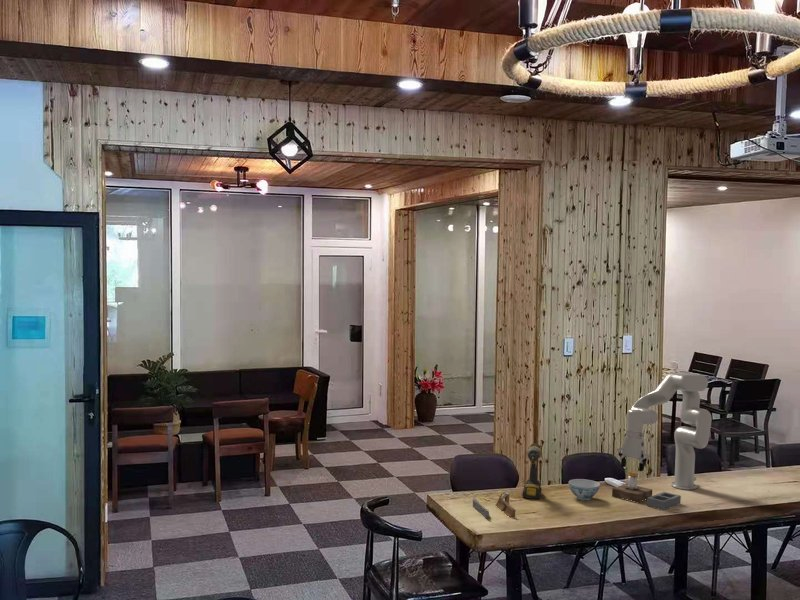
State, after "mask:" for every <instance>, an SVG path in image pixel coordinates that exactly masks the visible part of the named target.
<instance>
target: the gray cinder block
mask: <svg viewBox="0 0 800 600" xmlns="http://www.w3.org/2000/svg"><path fill="white" fill-rule="evenodd" d="M681 500H682V497H681V495H679V494H675V493H671V492H668V491H667V492H666V491H662V492H659V493H657V494H654V495H653V494H652V496H651V497H648V498H647V501H646V507H649V506H651V507H650V508H653V507H655V508H654V509H657V508H659V509H658V510H661V509H662V510H661V511H666V510H668V508H669V509H671V508H674V507H676V506H678V504H679V505H681ZM673 506H674V507H673ZM670 507H671V508H670Z"/></svg>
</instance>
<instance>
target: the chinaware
mask: <svg viewBox="0 0 800 600" xmlns="http://www.w3.org/2000/svg"><path fill="white" fill-rule="evenodd" d="M568 486H569V489H570V491H571V493H572V494H573V495H574V496H575V497H576V499H577V500H579V499H580V501H584V500H587V501H590V500H591V499H592V498H594V496H596V495H597V493H598V492H599V489H600V487H601V484H600V483H599V482H598V481H595V480H591V479H584V478H574V479H569V481H568Z"/></svg>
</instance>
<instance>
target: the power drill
mask: <svg viewBox="0 0 800 600" xmlns="http://www.w3.org/2000/svg"><path fill="white" fill-rule="evenodd" d="M526 454H527V455H526V456H527V457H528V459H529V461H530V465H529V467H530V468H529V478H528V479H527V480H526V481H525V483H524V486H523V489H522V494H521V495H522V497H523V498H525V499H532V500H539V499H541V495H542V491H543V490H542V487H541V486H542V485H541V484H542V483H541V481H540V480H538V462H539V459H540V458H541V456H542V447H541V445H540V444H538V443H532V444H530V446H528V449H527V452H526Z"/></svg>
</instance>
